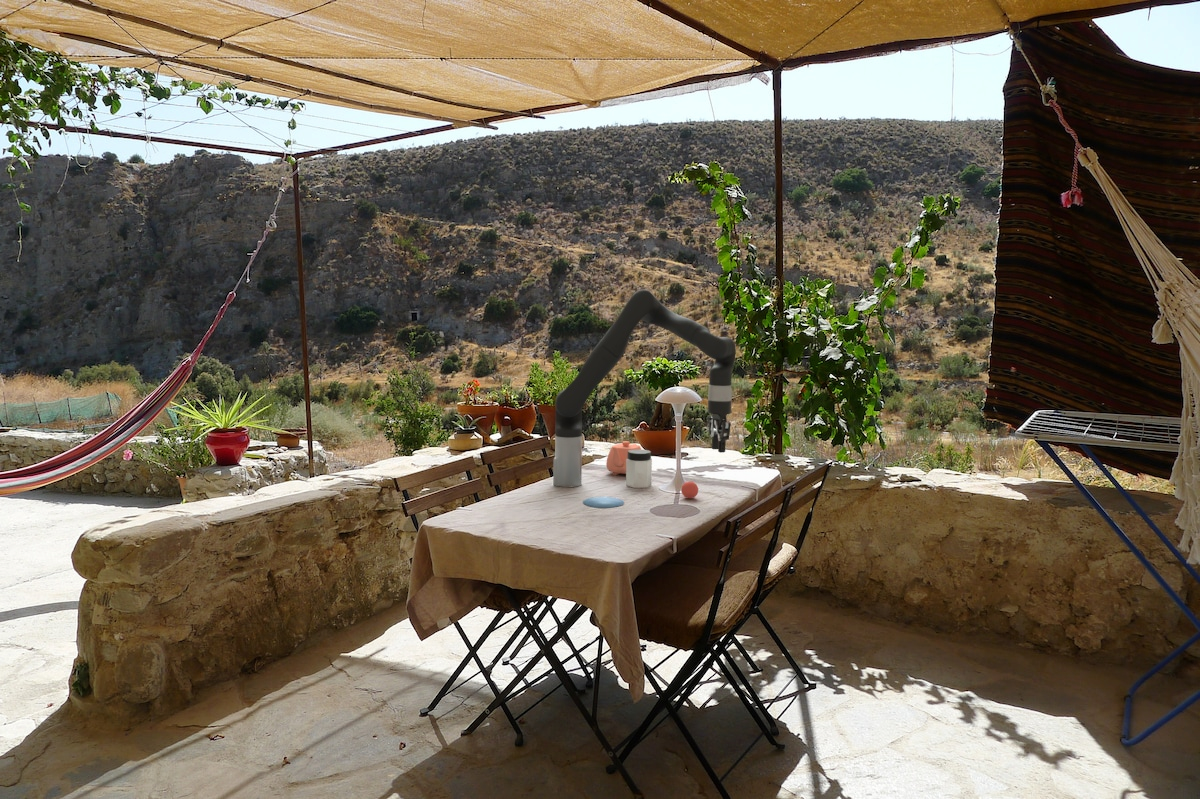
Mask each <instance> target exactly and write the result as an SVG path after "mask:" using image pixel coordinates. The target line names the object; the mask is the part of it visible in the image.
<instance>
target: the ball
mask: <svg viewBox="0 0 1200 799" xmlns="http://www.w3.org/2000/svg"><path fill="white" fill-rule="evenodd" d="M680 492H681V493H682V496H683V497H685V498H687V499H693V498H695V497H696V496H697V495H698V494H699V487H698V485H697V483H695V482H693V481H685V482H684V483H683V484H682V485H681V490H680Z"/></svg>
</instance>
